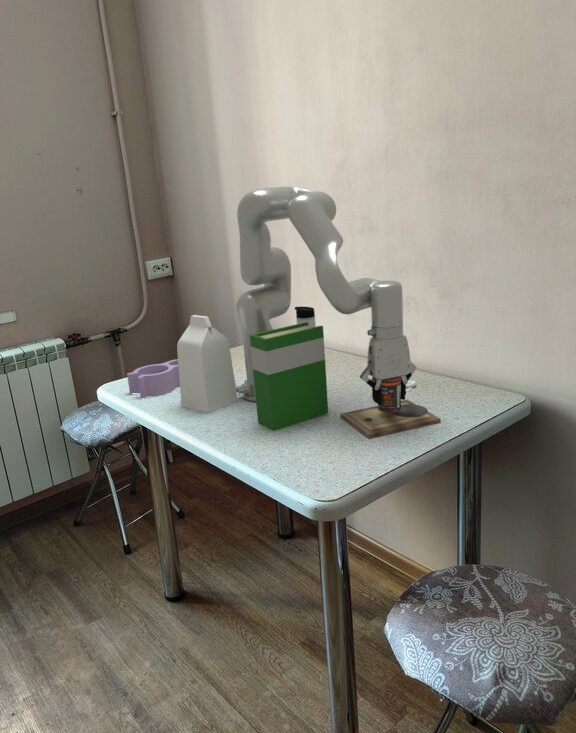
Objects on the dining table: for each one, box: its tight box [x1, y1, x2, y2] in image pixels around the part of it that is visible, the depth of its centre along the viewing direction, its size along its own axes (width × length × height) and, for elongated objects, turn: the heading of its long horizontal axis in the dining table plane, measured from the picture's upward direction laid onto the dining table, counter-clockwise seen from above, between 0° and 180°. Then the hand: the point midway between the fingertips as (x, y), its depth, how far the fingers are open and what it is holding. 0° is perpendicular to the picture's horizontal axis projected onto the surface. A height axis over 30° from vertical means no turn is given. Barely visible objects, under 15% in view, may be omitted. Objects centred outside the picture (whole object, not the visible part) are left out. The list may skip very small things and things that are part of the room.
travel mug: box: [294, 306, 317, 327], centre depth 207 cm, size 6×7×20 cm
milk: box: [176, 314, 239, 414], centre depth 176 cm, size 12×12×26 cm
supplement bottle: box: [377, 377, 402, 413], centre depth 155 cm, size 6×6×11 cm
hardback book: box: [250, 322, 329, 432], centre depth 160 cm, size 18×7×24 cm, turn 124°
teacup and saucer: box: [406, 380, 417, 392], centre depth 180 cm, size 9×8×4 cm
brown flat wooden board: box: [340, 399, 442, 439], centre depth 157 cm, size 20×16×1 cm
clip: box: [126, 358, 180, 399], centre depth 197 cm, size 20×12×7 cm, turn 134°
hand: (389, 399), depth 156 cm, fingers closed on supplement bottle, 6 cm apart
